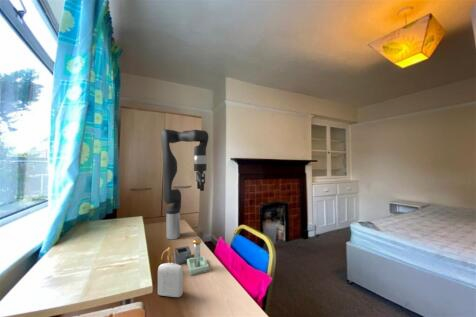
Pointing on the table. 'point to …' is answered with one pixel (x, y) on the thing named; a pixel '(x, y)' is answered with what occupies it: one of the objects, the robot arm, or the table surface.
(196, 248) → the pin
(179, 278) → the photo printer
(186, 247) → the socket block
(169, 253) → the figurine
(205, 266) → the tray
